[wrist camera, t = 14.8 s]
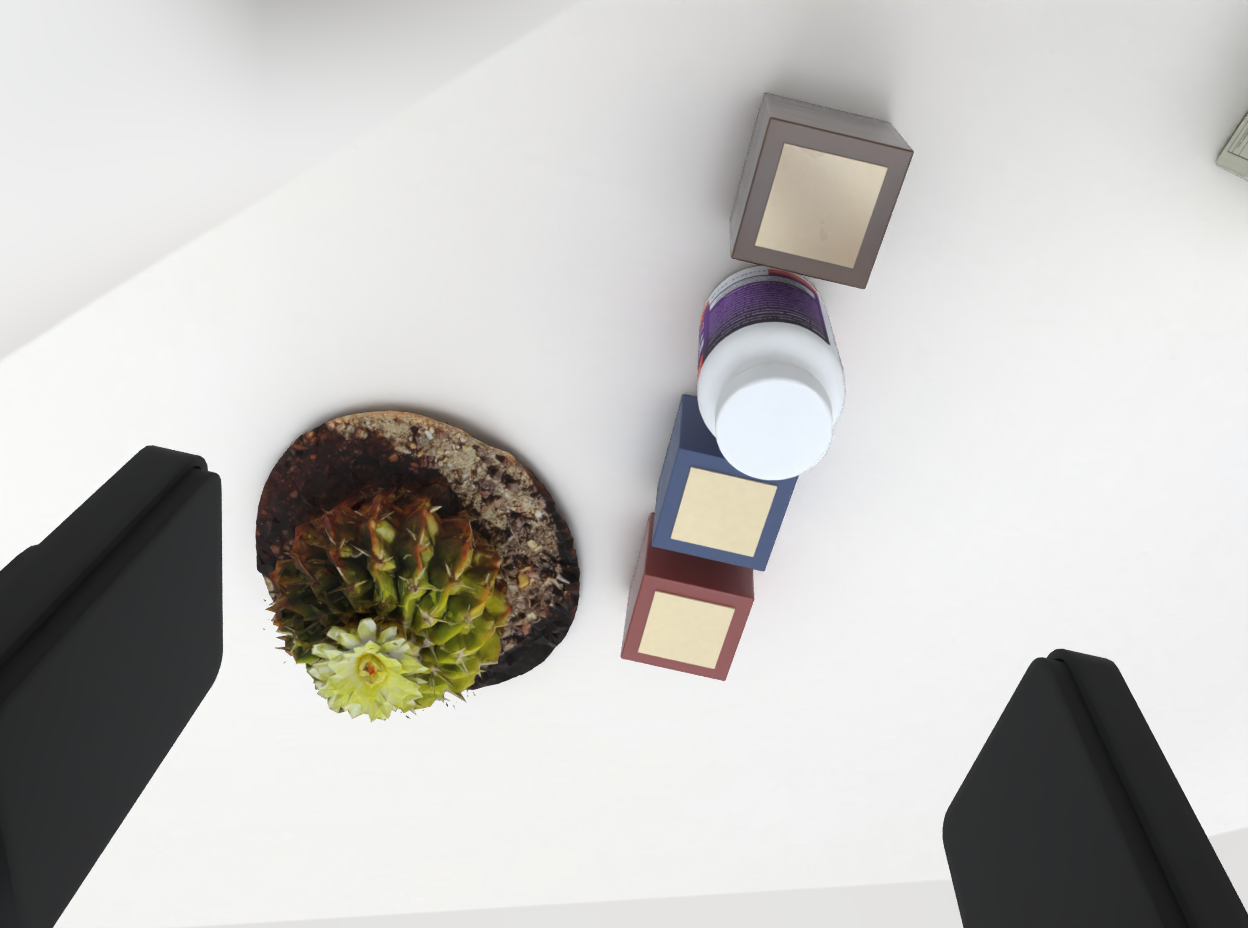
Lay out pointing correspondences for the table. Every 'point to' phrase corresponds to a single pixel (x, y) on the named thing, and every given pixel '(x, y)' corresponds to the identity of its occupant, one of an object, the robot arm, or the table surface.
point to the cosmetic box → (1236, 152)
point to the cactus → (411, 562)
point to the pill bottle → (769, 373)
